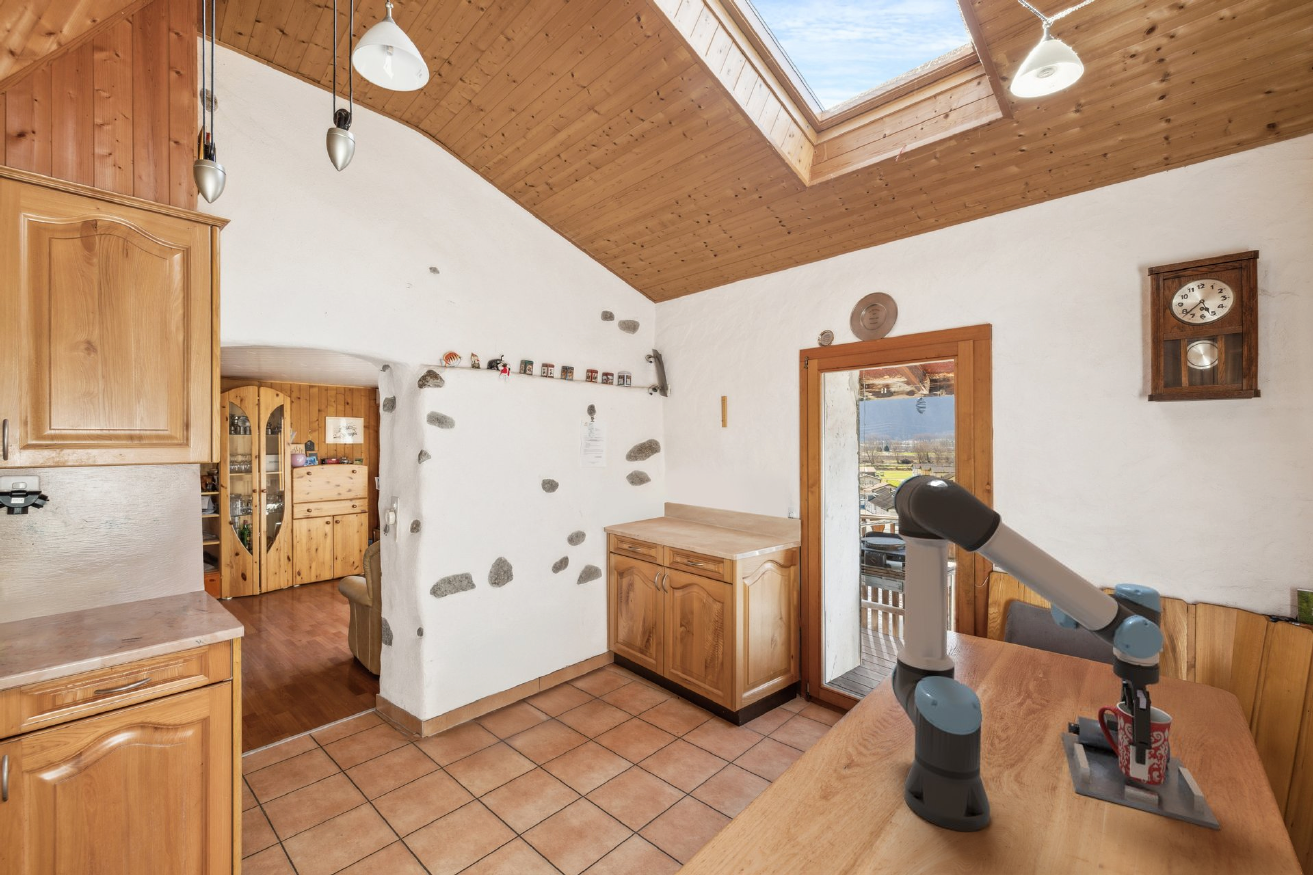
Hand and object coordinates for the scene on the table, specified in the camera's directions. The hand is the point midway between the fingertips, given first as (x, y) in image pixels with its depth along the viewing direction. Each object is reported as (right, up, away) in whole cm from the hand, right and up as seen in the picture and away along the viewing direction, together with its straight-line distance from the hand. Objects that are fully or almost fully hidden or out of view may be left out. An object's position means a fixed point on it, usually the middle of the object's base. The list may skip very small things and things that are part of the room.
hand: (1133, 766), depth 121 cm
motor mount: (+2, -4, +3) cm, 6 cm away
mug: (0, -2, +1) cm, 2 cm away
